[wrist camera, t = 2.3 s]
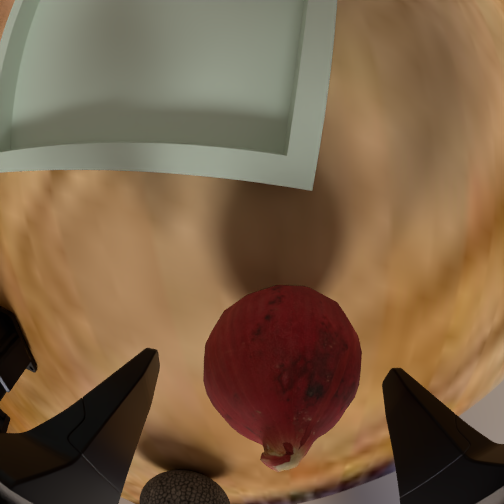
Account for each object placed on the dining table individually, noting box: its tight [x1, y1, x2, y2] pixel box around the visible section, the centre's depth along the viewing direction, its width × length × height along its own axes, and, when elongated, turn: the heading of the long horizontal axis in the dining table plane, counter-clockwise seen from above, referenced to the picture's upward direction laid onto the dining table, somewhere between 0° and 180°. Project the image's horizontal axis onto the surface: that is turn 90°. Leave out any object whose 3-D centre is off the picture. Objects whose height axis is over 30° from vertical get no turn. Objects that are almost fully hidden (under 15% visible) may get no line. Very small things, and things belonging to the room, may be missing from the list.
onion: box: [204, 285, 362, 472], centre depth 9 cm, size 6×6×8 cm
